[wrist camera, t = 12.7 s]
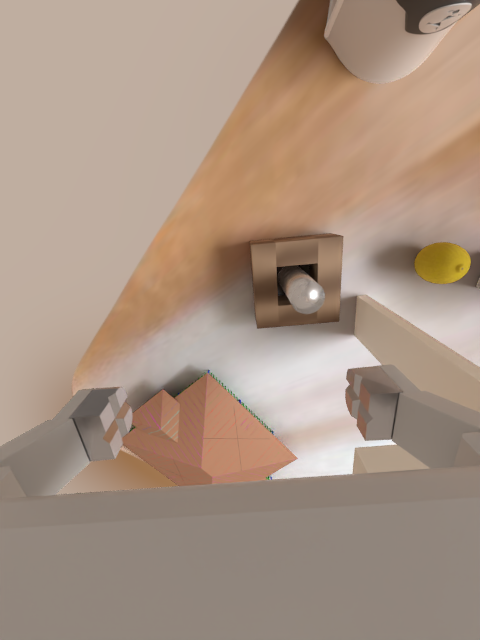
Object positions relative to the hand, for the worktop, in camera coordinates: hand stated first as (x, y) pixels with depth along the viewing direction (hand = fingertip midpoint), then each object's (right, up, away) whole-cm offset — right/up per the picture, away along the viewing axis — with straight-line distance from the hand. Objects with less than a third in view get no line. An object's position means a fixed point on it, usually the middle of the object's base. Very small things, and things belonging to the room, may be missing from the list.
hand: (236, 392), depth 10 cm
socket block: (+8, +9, +32) cm, 34 cm away
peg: (+8, +9, +32) cm, 34 cm away
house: (-5, -22, +45) cm, 50 cm away
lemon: (+28, +12, +31) cm, 44 cm away
